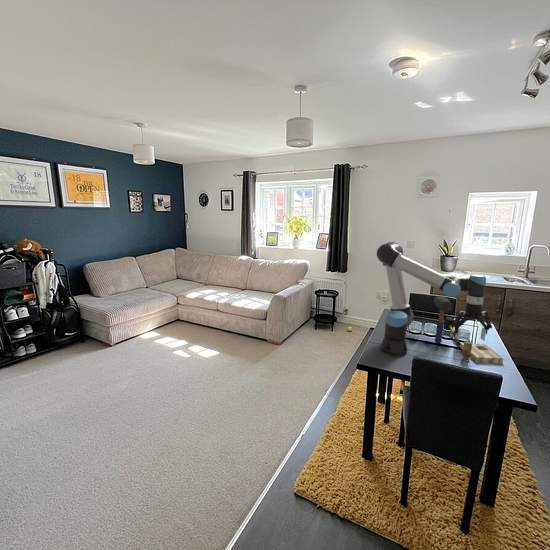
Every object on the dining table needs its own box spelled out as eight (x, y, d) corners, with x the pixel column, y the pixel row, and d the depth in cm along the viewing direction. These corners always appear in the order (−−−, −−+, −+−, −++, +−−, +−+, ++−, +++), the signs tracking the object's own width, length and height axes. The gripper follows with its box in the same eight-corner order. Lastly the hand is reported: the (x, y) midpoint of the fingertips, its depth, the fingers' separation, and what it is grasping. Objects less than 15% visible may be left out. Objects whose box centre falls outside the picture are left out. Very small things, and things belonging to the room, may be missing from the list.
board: (475, 362, 167) (476, 357, 167) (459, 347, 185) (460, 342, 184) (502, 363, 166) (503, 358, 165) (483, 348, 184) (484, 343, 183)
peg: (463, 360, 169) (466, 344, 167) (459, 357, 173) (462, 341, 171) (471, 361, 168) (474, 344, 166) (467, 357, 173) (470, 341, 170)
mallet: (464, 347, 186) (466, 333, 183) (453, 346, 187) (455, 331, 185) (451, 329, 213) (453, 316, 211) (442, 328, 214) (443, 315, 212)
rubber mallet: (448, 347, 184) (454, 301, 178) (435, 347, 185) (441, 300, 179) (440, 339, 196) (446, 295, 190) (428, 338, 197) (433, 294, 191)
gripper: (453, 304, 161) (449, 341, 165) (503, 305, 158) (497, 342, 163) (447, 300, 168) (443, 335, 173) (494, 301, 166) (489, 337, 170)
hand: (469, 339), depth 168 cm, fingers open, 13 cm apart
